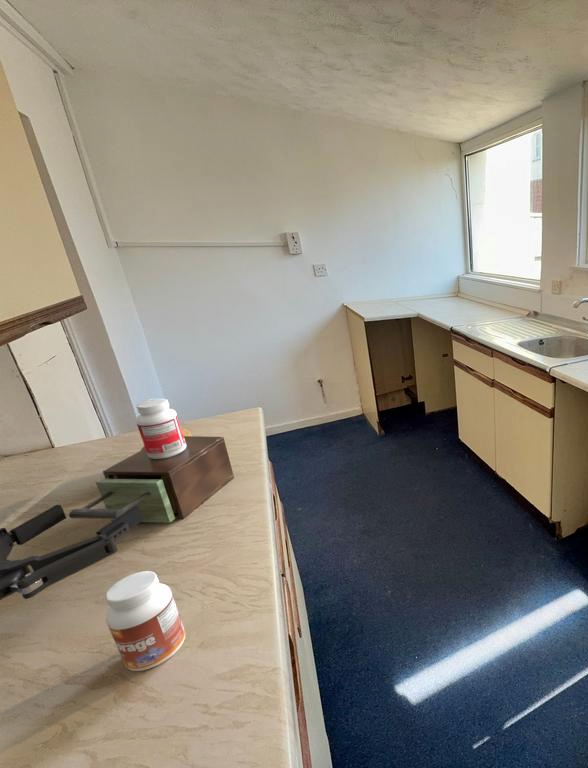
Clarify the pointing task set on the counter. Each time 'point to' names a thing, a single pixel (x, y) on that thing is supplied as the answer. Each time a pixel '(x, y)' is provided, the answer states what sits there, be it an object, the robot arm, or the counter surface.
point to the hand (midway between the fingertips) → (100, 511)
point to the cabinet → (184, 471)
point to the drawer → (131, 499)
